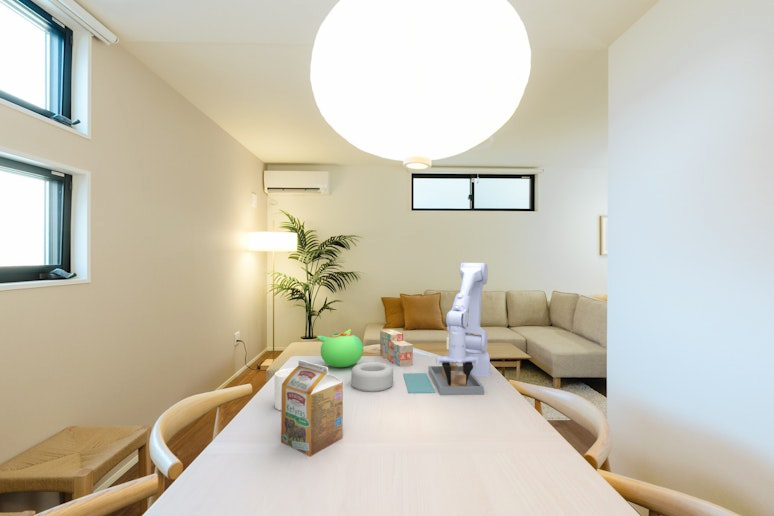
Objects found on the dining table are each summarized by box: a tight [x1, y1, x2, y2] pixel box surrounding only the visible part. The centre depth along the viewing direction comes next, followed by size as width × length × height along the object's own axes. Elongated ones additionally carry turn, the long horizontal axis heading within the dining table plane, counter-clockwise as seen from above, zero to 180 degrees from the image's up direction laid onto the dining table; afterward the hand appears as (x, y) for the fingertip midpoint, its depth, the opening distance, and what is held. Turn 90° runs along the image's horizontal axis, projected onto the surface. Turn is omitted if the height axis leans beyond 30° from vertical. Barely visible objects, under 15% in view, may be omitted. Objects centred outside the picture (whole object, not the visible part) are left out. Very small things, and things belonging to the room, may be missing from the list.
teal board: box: [402, 372, 436, 394], centre depth 128 cm, size 9×20×1 cm, turn 3°
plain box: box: [441, 363, 459, 379], centre depth 135 cm, size 5×5×5 cm
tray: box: [428, 365, 485, 396], centre depth 129 cm, size 15×24×3 cm, turn 2°
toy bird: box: [316, 328, 364, 368], centre depth 150 cm, size 18×17×15 cm
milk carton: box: [280, 359, 344, 457], centre depth 88 cm, size 11×11×19 cm
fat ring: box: [350, 361, 394, 393], centre depth 128 cm, size 15×15×7 cm
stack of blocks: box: [379, 328, 414, 368], centre depth 159 cm, size 21×6×12 cm, turn 24°
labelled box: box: [449, 371, 466, 386], centre depth 124 cm, size 5×5×5 cm
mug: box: [274, 367, 296, 412], centre depth 108 cm, size 12×8×10 cm
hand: (456, 383), depth 124 cm, fingers closed on labelled box, 5 cm apart
